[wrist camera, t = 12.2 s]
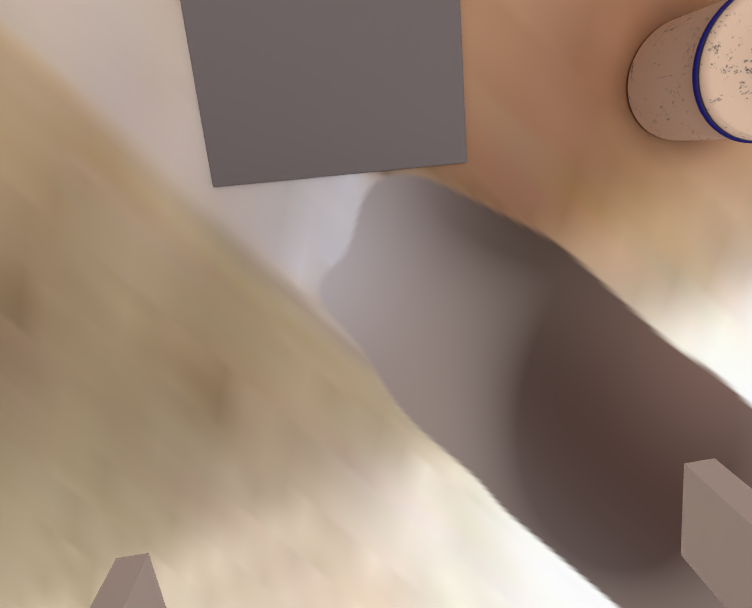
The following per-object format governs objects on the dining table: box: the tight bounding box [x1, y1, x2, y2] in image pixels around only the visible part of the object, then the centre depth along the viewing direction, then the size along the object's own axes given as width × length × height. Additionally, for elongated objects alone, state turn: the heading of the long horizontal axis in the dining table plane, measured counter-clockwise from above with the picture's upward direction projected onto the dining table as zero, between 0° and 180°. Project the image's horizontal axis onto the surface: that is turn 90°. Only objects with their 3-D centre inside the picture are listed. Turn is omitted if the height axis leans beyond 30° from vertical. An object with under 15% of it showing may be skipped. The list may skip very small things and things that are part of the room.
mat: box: [180, 0, 467, 187], centre depth 37 cm, size 19×19×1 cm
